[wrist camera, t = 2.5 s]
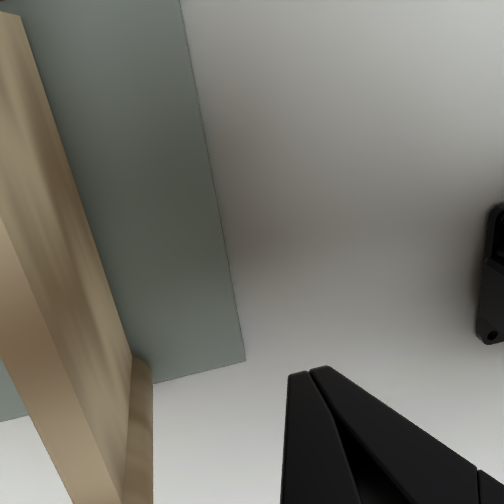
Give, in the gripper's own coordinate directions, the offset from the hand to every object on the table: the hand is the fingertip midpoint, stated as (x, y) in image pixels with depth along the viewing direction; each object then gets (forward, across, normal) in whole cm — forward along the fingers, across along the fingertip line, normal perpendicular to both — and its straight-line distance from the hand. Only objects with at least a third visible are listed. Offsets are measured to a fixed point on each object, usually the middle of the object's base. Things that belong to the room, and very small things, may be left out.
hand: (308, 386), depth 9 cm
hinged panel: (+7, +5, -1) cm, 9 cm away
